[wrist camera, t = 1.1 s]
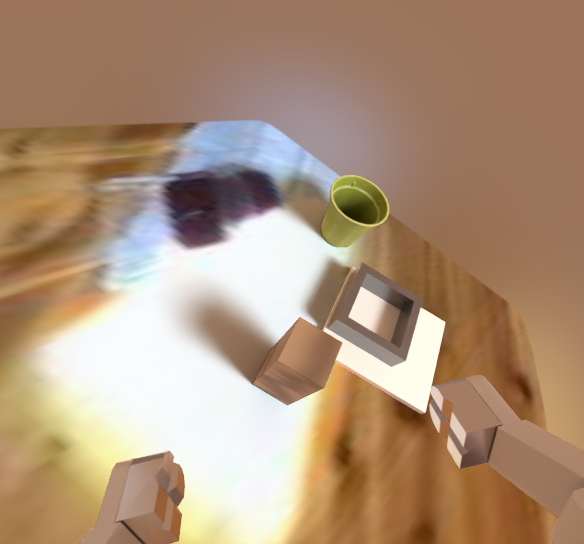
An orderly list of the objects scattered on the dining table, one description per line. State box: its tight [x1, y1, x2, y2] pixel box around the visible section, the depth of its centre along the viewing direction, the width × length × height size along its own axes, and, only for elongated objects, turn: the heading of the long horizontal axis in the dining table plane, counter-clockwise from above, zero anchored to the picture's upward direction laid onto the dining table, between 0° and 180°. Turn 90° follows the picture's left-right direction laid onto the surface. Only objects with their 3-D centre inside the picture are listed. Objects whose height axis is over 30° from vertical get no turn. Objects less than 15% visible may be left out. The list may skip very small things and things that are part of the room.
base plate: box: [322, 267, 445, 414], centre depth 49 cm, size 17×15×1 cm
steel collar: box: [327, 263, 423, 367], centre depth 48 cm, size 10×10×4 cm
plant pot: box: [321, 175, 389, 247], centre depth 53 cm, size 9×9×9 cm
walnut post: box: [253, 317, 342, 405], centre depth 38 cm, size 5×5×12 cm
